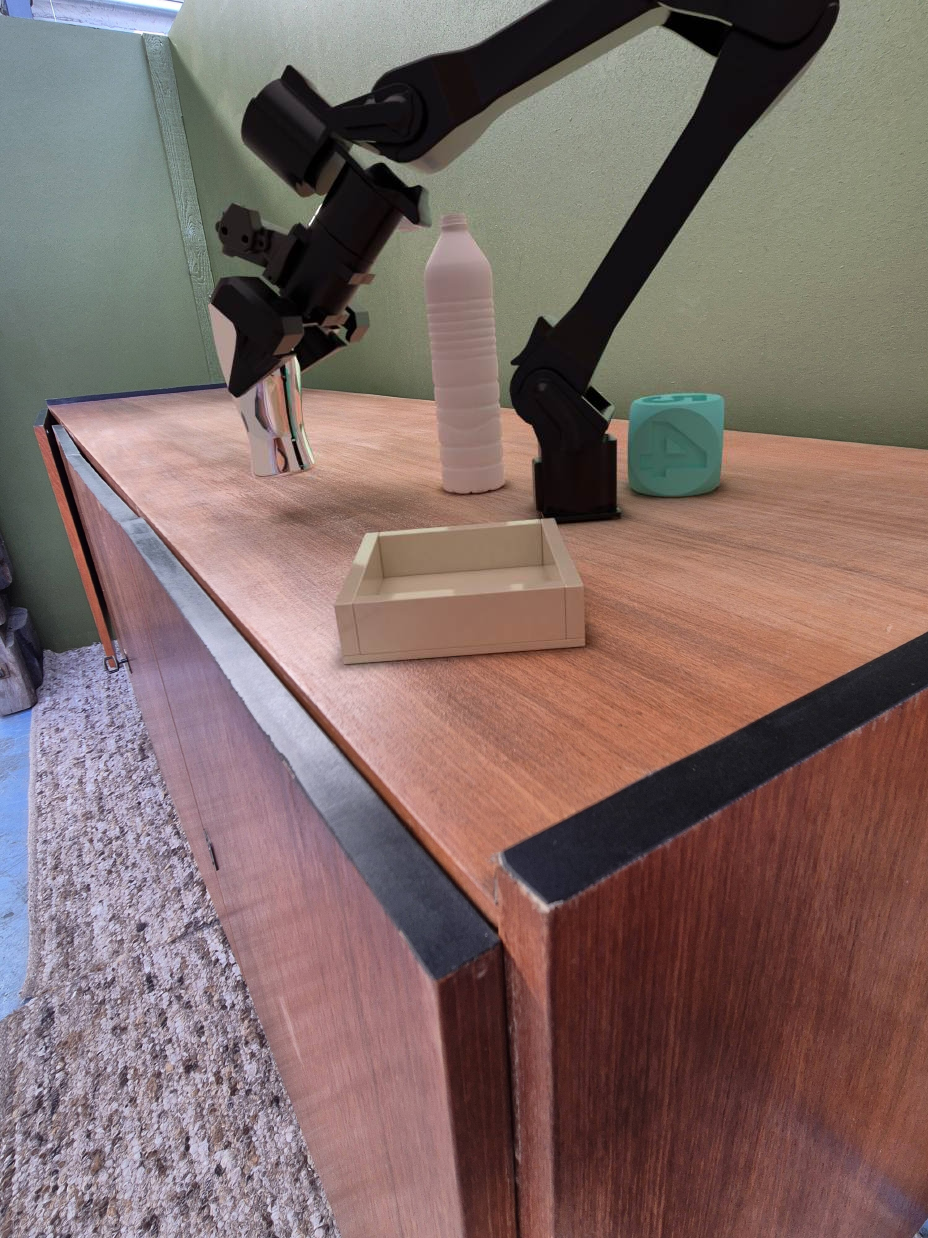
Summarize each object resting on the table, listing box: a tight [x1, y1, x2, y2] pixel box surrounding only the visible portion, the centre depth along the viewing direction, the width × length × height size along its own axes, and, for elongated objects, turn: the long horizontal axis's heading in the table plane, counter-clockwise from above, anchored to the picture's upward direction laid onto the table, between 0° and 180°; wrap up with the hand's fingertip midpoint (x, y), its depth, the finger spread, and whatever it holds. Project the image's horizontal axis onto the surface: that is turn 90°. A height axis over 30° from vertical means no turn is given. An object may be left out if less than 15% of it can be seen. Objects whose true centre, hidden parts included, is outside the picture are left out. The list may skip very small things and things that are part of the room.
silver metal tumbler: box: [207, 303, 317, 480], centre depth 65 cm, size 7×7×15 cm
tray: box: [333, 518, 586, 665], centre depth 43 cm, size 13×13×4 cm
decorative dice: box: [627, 392, 725, 498], centre depth 66 cm, size 8×8×8 cm
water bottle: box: [394, 212, 506, 494], centre depth 69 cm, size 9×6×25 cm
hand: (253, 389), depth 65 cm, fingers closed on silver metal tumbler, 7 cm apart
